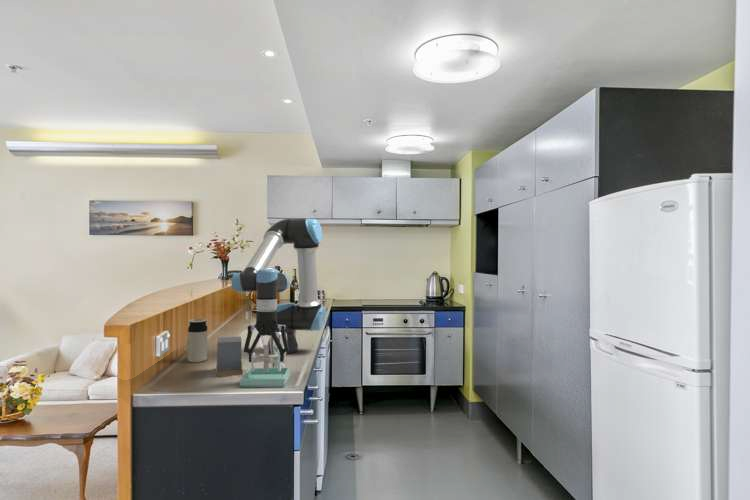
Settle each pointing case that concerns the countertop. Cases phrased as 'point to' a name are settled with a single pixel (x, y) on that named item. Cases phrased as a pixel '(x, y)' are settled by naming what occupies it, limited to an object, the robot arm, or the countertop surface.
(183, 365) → the countertop surface
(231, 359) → the mounted unit
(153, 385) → the countertop surface
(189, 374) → the countertop surface
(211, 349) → the countertop surface
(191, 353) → the travel mug
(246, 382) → the tray
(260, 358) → the pipe connector
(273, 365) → the beer glass
